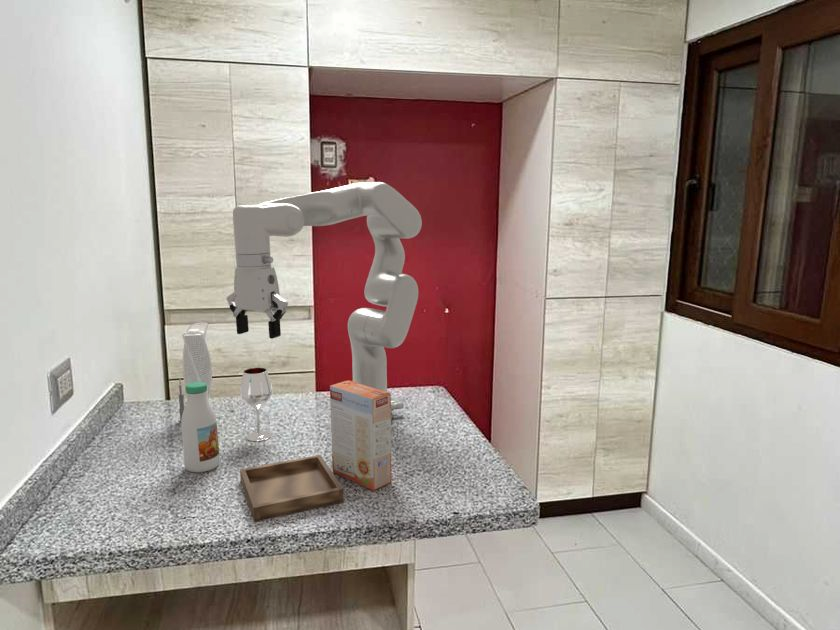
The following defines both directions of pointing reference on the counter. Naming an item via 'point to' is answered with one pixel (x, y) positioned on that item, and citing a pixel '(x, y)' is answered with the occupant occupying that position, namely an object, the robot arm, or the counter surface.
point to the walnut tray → (290, 487)
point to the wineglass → (256, 396)
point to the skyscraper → (195, 362)
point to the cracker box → (361, 433)
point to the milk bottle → (199, 430)
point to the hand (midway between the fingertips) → (258, 335)
